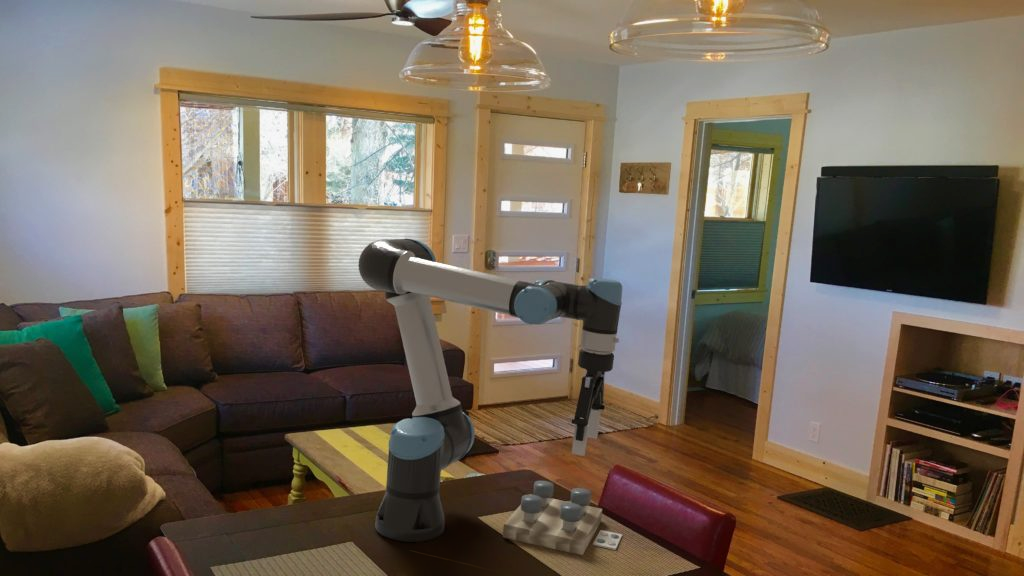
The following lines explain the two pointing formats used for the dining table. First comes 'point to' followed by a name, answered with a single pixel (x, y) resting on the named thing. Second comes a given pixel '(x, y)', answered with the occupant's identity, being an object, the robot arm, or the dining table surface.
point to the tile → (607, 540)
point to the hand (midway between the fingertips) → (584, 445)
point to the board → (553, 528)
